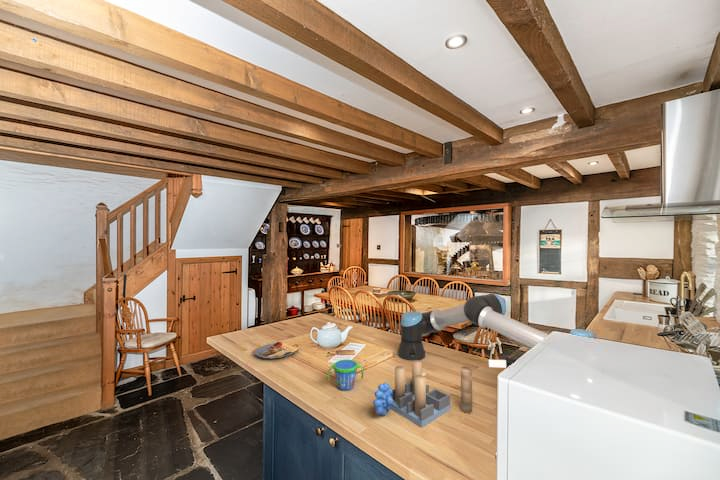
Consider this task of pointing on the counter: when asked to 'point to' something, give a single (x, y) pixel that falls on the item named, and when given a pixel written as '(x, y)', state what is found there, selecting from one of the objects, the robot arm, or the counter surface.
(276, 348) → the food plate
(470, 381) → the loose leg
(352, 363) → the snack cup
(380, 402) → the grapes
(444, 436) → the counter surface
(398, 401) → the stool
